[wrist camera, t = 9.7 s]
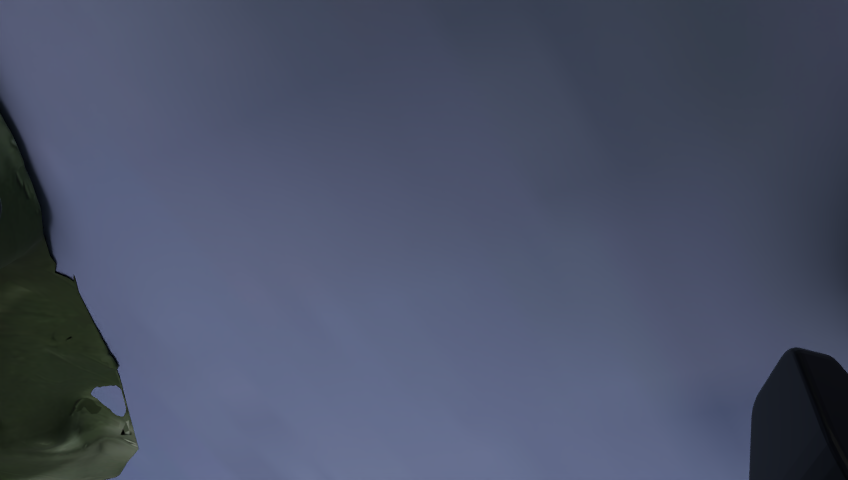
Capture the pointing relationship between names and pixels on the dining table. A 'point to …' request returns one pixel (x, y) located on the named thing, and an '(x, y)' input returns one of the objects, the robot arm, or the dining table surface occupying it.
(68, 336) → the rose bouquet
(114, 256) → the dining table surface
